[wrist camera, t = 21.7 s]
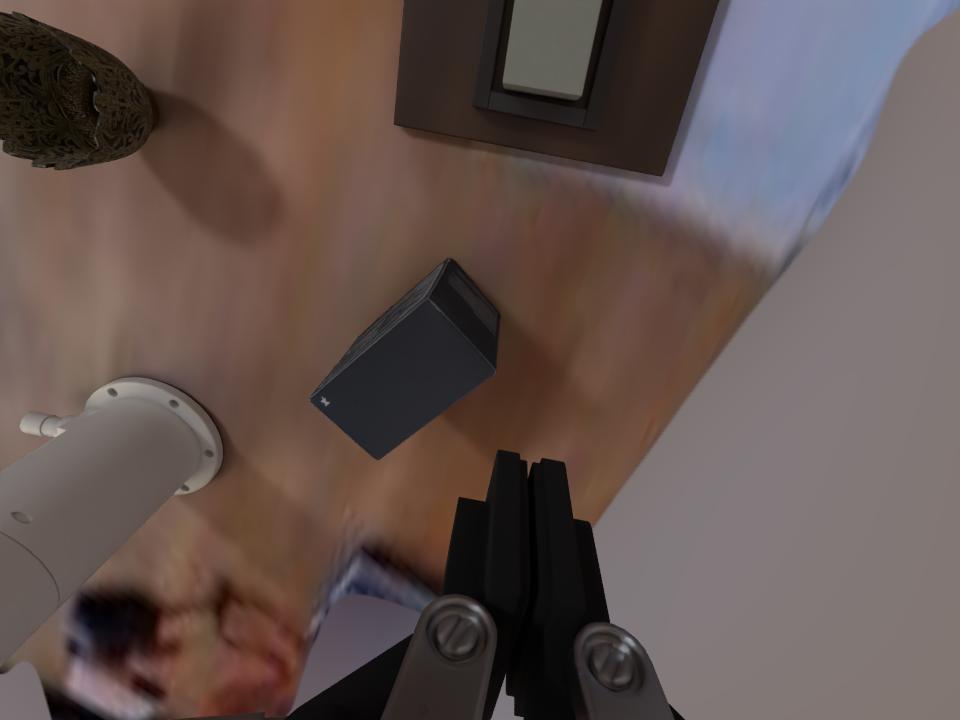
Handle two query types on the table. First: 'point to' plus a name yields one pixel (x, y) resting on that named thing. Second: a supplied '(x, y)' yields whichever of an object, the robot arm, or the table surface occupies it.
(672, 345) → the table surface
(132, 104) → the cup
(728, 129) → the table surface
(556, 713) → the robot arm
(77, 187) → the table surface
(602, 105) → the mounting board
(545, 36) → the gray rectangular block
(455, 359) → the small box
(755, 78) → the table surface
